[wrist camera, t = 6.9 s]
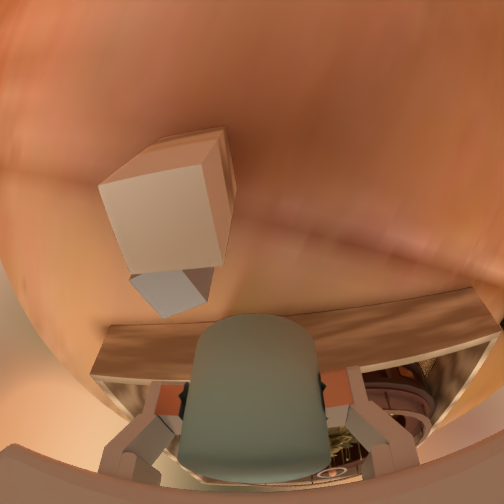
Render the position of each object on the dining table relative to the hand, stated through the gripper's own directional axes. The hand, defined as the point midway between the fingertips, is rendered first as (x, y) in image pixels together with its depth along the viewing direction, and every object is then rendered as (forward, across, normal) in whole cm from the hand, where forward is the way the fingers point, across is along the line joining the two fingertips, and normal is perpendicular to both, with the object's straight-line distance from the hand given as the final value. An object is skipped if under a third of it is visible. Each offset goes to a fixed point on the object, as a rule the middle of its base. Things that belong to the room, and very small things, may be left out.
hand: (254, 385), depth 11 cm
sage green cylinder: (+2, 0, 0) cm, 2 cm away
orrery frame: (+18, -2, +38) cm, 42 cm away
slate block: (+18, +8, +5) cm, 20 cm away
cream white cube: (+12, +4, -4) cm, 13 cm away
